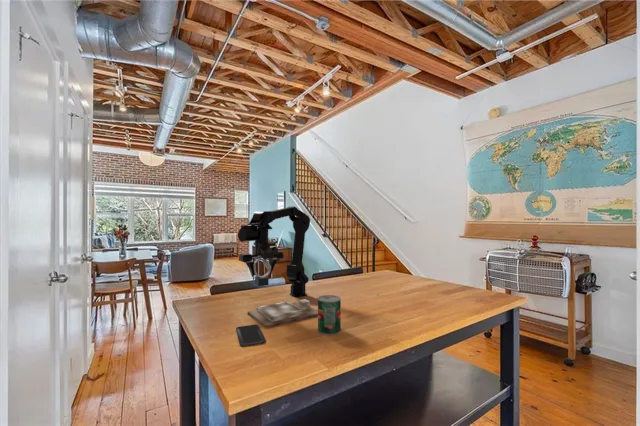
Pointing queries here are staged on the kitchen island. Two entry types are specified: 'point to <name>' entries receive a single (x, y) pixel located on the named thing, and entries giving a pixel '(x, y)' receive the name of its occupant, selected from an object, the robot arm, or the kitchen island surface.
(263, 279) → the watch
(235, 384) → the kitchen island surface
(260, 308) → the charging board
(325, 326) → the canned tomato
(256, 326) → the phone
